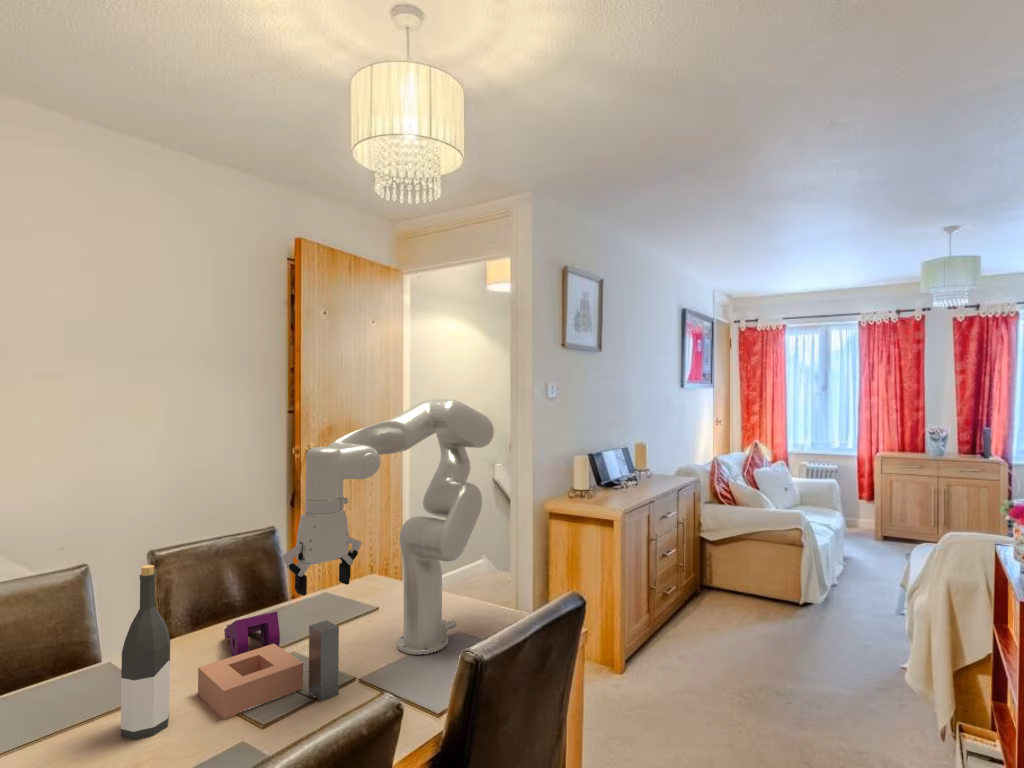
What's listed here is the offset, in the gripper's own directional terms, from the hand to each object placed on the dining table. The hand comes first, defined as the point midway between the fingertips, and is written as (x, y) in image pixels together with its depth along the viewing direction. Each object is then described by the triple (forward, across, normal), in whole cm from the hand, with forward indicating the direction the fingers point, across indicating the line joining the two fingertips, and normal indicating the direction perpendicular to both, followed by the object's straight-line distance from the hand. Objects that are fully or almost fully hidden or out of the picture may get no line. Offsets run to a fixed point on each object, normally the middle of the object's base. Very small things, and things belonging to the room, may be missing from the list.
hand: (323, 588), depth 120 cm
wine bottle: (+22, +29, -13) cm, 39 cm away
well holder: (+22, +10, -12) cm, 27 cm away
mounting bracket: (+22, +1, -35) cm, 42 cm away
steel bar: (+22, 0, 0) cm, 22 cm away
